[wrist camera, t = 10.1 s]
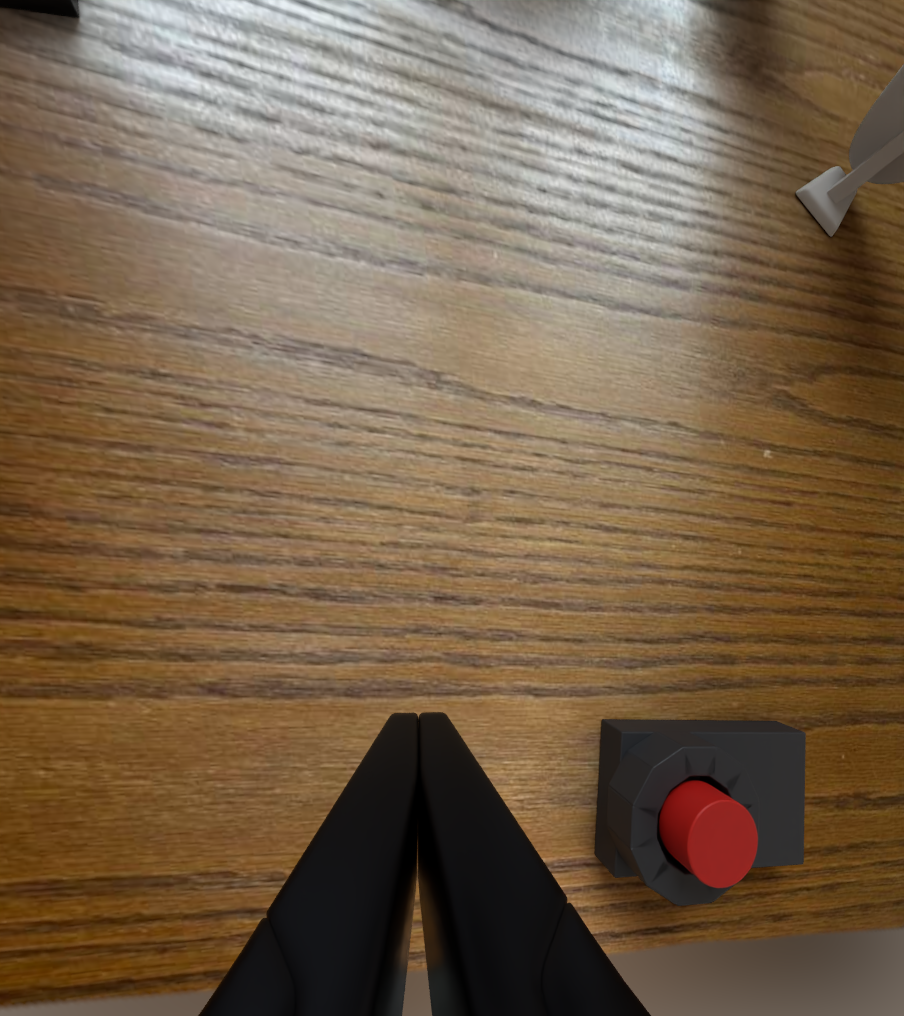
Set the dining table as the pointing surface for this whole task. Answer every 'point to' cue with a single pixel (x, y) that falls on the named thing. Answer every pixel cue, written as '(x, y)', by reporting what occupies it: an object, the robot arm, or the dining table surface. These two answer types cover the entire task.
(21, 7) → the lever bracket
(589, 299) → the dining table surface
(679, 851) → the stop button
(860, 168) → the figurine
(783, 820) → the switch block
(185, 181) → the dining table surface
